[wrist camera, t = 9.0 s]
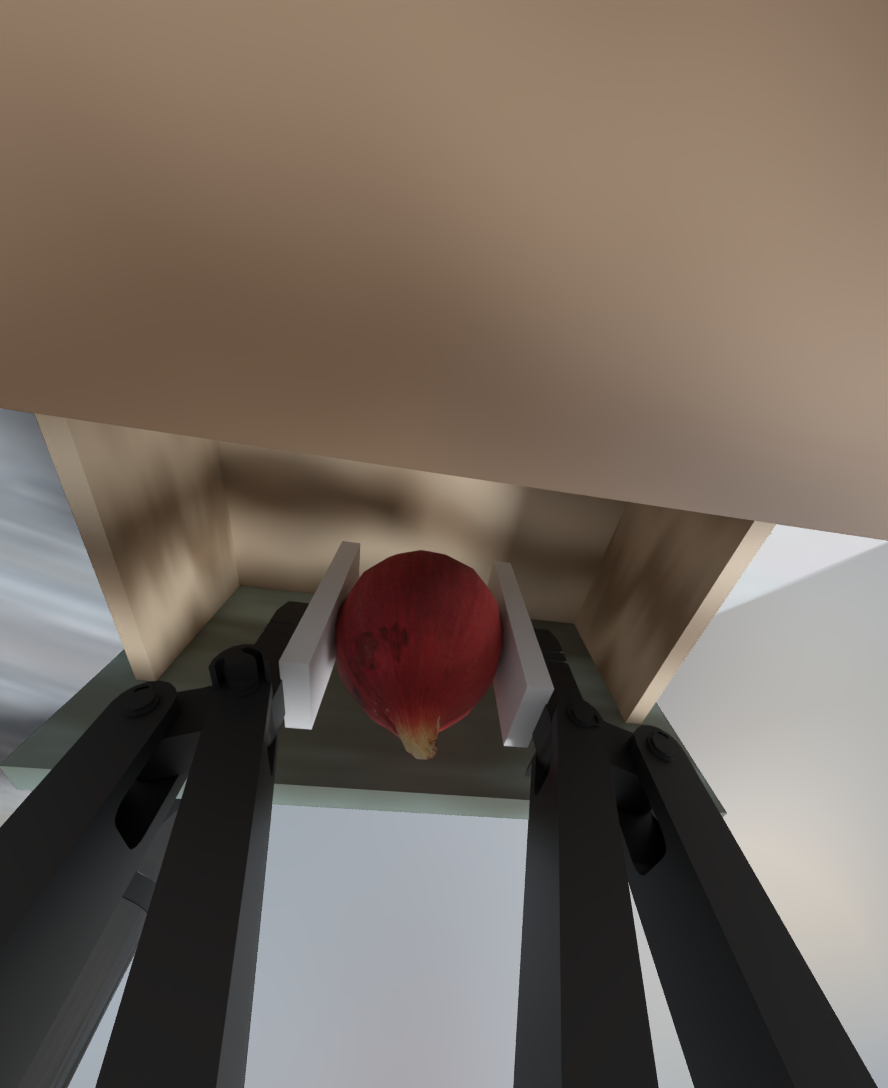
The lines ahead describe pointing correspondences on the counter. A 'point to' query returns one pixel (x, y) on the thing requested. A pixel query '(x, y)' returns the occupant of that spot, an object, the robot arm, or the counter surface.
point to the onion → (418, 645)
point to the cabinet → (464, 238)
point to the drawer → (383, 530)
